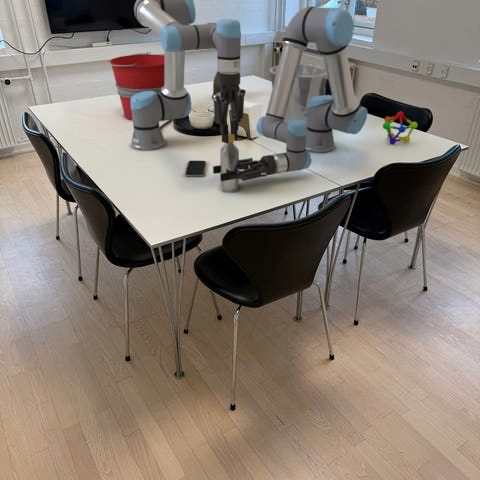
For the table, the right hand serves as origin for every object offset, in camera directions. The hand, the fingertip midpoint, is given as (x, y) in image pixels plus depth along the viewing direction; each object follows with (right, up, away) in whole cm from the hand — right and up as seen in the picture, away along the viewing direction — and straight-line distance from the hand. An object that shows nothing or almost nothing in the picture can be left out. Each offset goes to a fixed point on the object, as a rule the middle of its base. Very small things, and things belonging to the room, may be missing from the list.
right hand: (217, 173), depth 162 cm
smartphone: (-10, +5, +20) cm, 23 cm away
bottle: (+5, -5, +5) cm, 8 cm away
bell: (0, +66, +119) cm, 136 cm away
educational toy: (+83, +22, +48) cm, 98 cm away
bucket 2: (+38, +36, +71) cm, 88 cm away
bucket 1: (-44, +46, +86) cm, 107 cm away
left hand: (+5, +11, -5) cm, 13 cm away
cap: (+5, +13, -6) cm, 14 cm away
